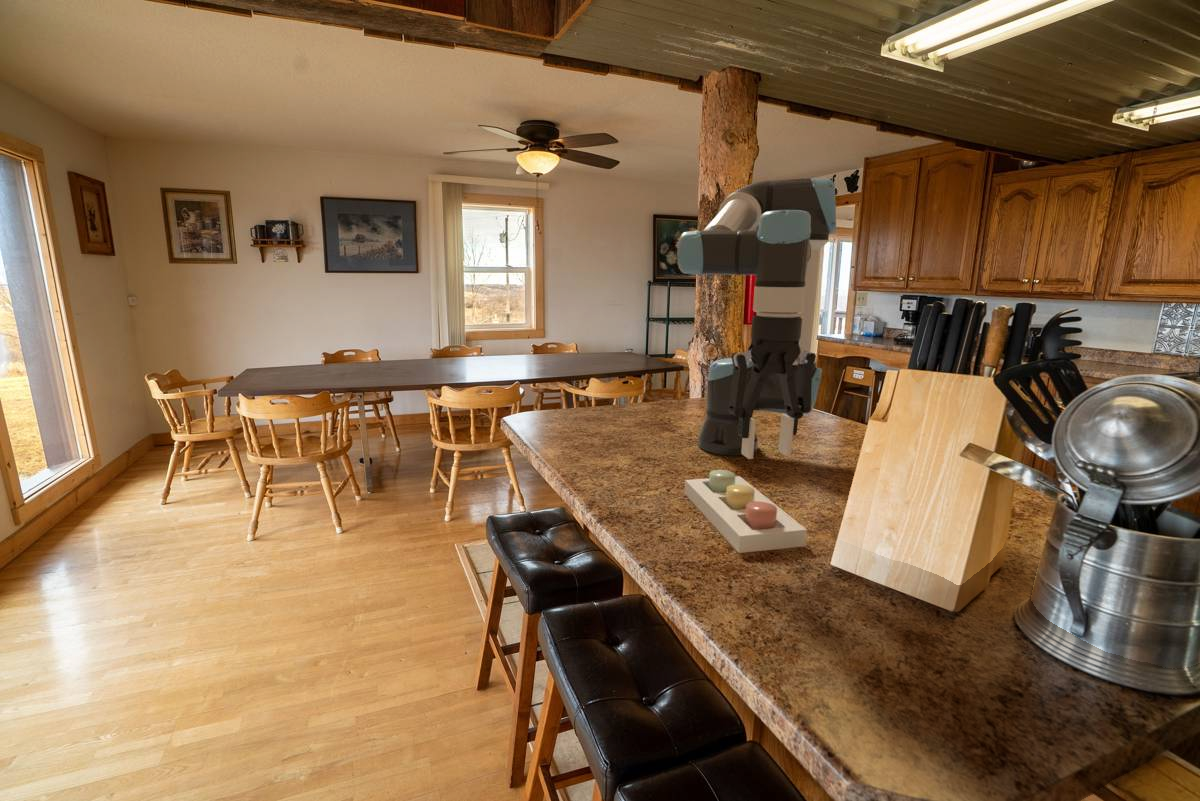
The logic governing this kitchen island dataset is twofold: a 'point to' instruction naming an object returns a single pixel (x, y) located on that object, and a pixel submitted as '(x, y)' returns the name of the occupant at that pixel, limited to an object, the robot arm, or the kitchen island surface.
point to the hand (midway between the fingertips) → (765, 454)
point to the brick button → (761, 515)
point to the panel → (734, 524)
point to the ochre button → (739, 496)
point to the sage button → (721, 480)
